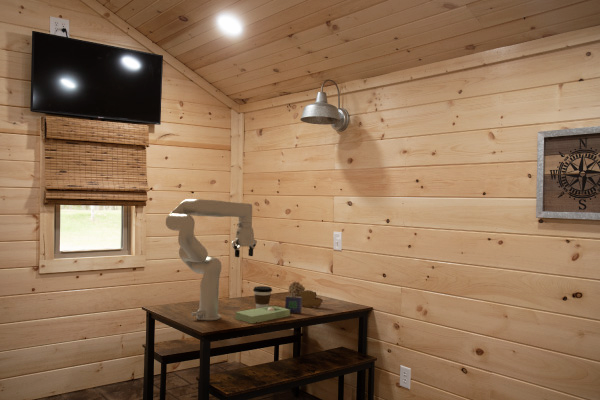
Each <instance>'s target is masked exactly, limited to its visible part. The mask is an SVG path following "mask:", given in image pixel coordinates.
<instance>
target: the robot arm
mask: <svg viewBox="0 0 600 400" xmlns="http://www.w3.org/2000/svg"><path fill="white" fill-rule="evenodd" d="M193 216H197V217H215V218H218V217H219V218H220V217H222V218H223V217H226V218H227V217H229V218H230V217H234V218H235V217H237V218H238V219H237V224H236V226H237V228H236V233H235V239H234V240H232V241H231V245H232V248H233V249H234V257H235V258H240V252H241V251H240V248H241V247H248V257H254V249H255V247H256V245H257V243H258V241H257V240H256V239H255V235H254V234H255V233H254V228H253V204H251V203H243V202H234V201H233V202H231V201H224V200H215V199H204V198H203V199H200V198H199V199H198V198H186V199H184V200H182V201H181V202H180V203H179V204H178V205H177V206H176V207H174V209H173V210H172V211H171V212H170V213H169V214H168V215H167V217H166V219H165V225H166V228H167V229H169V230H171V231H178V236H177V237H178V238H177V240H178V242H177V243H178V245H179V246H180V247H179V249H178V255H179V259H180V260H181V261H182V262H183V263H184V264H185V265H186V266H187V267H188V268H189V269H190V270H191V271H192V272H193V273H196V274H201V275H202V278H201V280H200V284H199V285H200V286H199V308H198V309H197V311H193V312H191V314H190V316H191V317H195V318H196V320H199V321H216V320H217V321H218V320H220V319H221V318H222V316H221V314H220V313H219V295H220V287H219V286H220V277H221V272H222V266H223V265H222V262H221V261H220V259H219V258H217V257H214V256H208V255H209V253H208V250H207V249H206V247H205V246H204V245H203V243H202V242H200V241H199V240H198V239H197V238H196V236H195V226H196V225H195V223H196V221H195V219H194V217H193Z"/></svg>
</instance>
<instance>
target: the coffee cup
mask: <svg viewBox="0 0 600 400" xmlns="http://www.w3.org/2000/svg"><path fill="white" fill-rule="evenodd" d="M252 291H253V292H254V303H255V309H257V308H262V307H268V306H270V305H269V304H270V302H271V294H272V293H271V292H273V289H272V287H271V286H262V285H261V286H260V285H259V286H255V287H253V290H252Z"/></svg>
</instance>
